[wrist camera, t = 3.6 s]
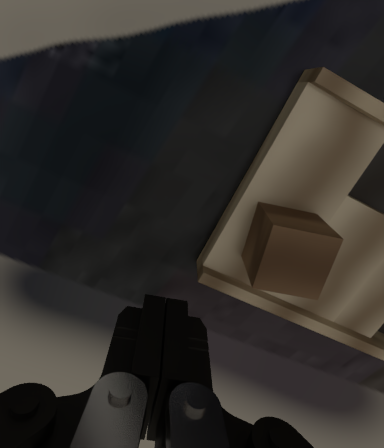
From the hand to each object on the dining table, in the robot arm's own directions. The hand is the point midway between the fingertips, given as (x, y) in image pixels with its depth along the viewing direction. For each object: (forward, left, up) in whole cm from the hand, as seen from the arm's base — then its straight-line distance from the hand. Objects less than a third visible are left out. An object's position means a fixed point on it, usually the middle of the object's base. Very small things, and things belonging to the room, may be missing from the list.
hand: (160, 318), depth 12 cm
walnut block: (-2, +7, -11) cm, 13 cm away
